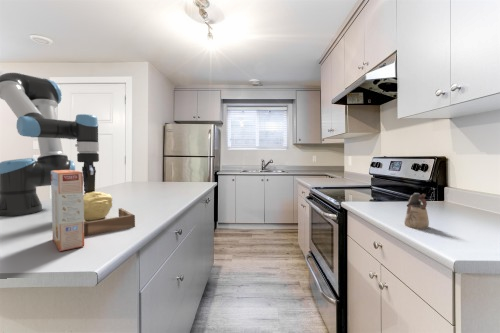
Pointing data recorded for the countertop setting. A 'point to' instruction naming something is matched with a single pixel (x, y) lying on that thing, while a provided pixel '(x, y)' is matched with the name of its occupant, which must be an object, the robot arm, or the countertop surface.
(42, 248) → the countertop surface
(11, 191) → the robot arm
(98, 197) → the sculpture
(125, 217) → the frame
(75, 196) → the cracker box
